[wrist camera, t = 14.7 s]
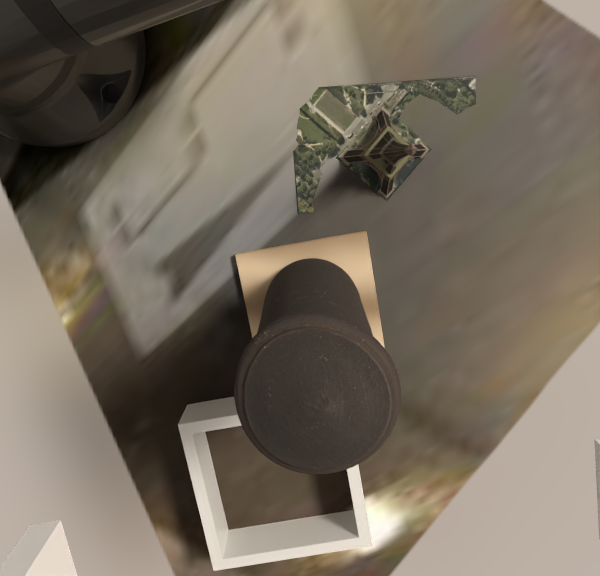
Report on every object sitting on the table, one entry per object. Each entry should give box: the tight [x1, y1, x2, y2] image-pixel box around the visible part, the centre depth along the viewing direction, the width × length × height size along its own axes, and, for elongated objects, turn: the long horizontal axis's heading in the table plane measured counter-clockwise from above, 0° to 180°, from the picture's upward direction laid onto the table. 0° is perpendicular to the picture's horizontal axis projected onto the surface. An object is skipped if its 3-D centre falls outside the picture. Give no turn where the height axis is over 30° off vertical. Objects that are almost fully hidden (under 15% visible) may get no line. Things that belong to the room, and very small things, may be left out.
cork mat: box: [235, 230, 385, 348], centre depth 48 cm, size 11×11×1 cm
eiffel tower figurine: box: [293, 76, 476, 213], centre depth 39 cm, size 15×10×13 cm
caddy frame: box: [178, 397, 372, 571], centre depth 49 cm, size 14×14×4 cm
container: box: [234, 258, 401, 474], centre depth 38 cm, size 9×9×20 cm
